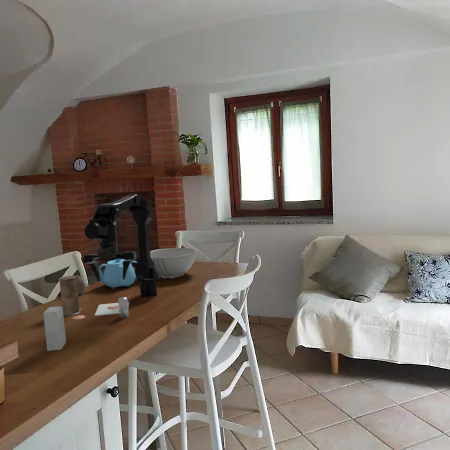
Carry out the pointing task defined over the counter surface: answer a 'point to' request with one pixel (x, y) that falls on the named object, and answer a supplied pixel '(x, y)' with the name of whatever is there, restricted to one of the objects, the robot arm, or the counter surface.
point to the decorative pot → (117, 274)
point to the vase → (80, 285)
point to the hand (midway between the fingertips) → (111, 280)
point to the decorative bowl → (173, 261)
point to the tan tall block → (69, 294)
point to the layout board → (101, 310)
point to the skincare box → (54, 328)
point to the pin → (123, 307)
